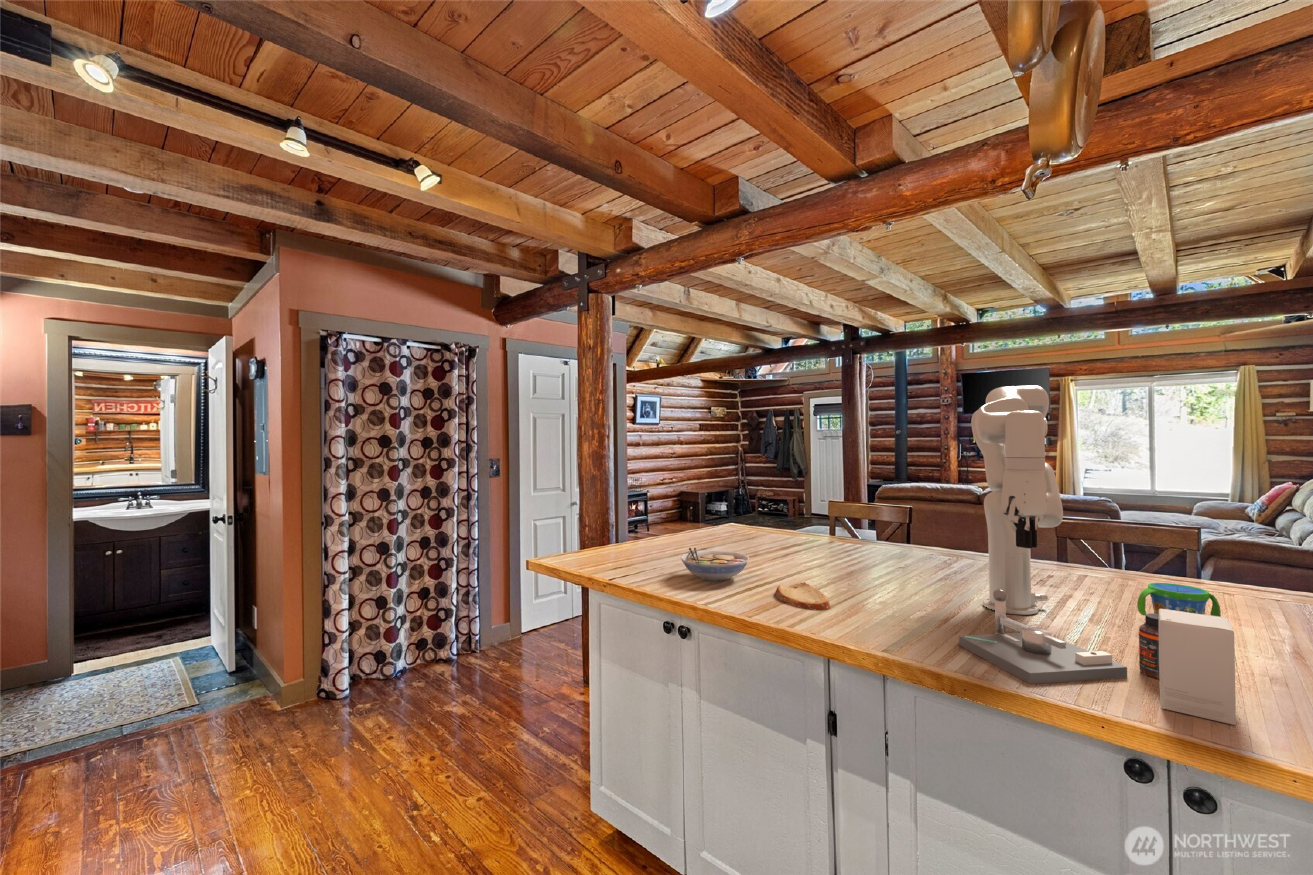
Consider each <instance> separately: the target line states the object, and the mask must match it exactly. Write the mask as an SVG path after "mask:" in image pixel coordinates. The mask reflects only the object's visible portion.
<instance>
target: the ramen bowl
mask: <svg viewBox="0 0 1313 875" xmlns="http://www.w3.org/2000/svg"><path fill="white" fill-rule="evenodd" d="M688 550H689V552H687V553H684V554H682V555H681V556H680V559H681V562H682V564H683V565H684V566H685V568H686V569H687V570H688V572H689V573H691V574H692V575H693V576H696V577H698V578H701V579H703V580H704V581H706V582H711V583H712V582H713V583H714V582H715V583H717V582H725V581H727V580H728V579H731V578H733V577H735V576H737V575H739V574H741V573H742V571H743V570H744V569H745V568H746V566H747V564H748V562H749V559H750V556H748V555H746V554H745V553H740V552H737V551H727V550H701V551H700V550H699V551H697V548H696V547H693V550H694V551H693V550H692V548H691V547H689V548H688Z"/></svg>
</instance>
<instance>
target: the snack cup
mask: <svg viewBox="0 0 1313 875" xmlns="http://www.w3.org/2000/svg"><path fill="white" fill-rule="evenodd" d="M1149 595H1150V599H1151V604H1152V609H1153V614H1159V609H1168V610H1175V611H1181V612H1188V613H1195V614H1202V615H1206V614H1205V613H1206V605H1207V602H1208V601H1209V599H1210V600H1211V604H1212V605H1211V608H1210V612H1209V614H1210V616H1218V617H1221V615H1222V613H1221V612H1222V611H1221V606H1220V603H1219V601H1218V598H1216V596H1215V595H1214V594H1212V593H1210V592H1209V591H1208V590H1207V589H1203V588H1199V587H1196V586H1191V585H1187V584H1186V585H1185V584H1180V583H1179V584H1178V583H1171V582H1170V583H1169V582H1151V583H1150V582H1149V583H1148V584H1147V588H1144V589H1143V590H1142V591H1141V592H1140V594H1139V596H1138V598H1137V603H1136V604H1137V605H1136V606H1137V611H1138V612H1139V614H1140V615H1142V616H1145V615H1146V614H1147V611H1146V604H1147V603H1146V598H1147V596H1149Z"/></svg>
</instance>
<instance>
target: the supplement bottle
mask: <svg viewBox="0 0 1313 875" xmlns="http://www.w3.org/2000/svg"><path fill="white" fill-rule="evenodd" d="M1144 621H1145V622H1144V623H1143V624H1141V625H1140V626H1139V628H1138V643H1139V644H1138V645H1139V646H1138V647H1139V648H1138V649H1139V650H1138V656H1139V657H1138V658H1139V660H1138V664H1139V670H1140V672H1141V673H1142V674H1144V675H1145V676H1147V677H1150V678H1152V679H1155V680H1159V614H1154V612H1151V613H1146V615H1145V619H1144Z"/></svg>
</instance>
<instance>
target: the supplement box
mask: <svg viewBox="0 0 1313 875" xmlns="http://www.w3.org/2000/svg"><path fill="white" fill-rule="evenodd" d="M1235 650H1236V649H1235V630H1234V629H1233V627H1232V625H1231V623H1230V620H1229V619H1228V618H1227V617H1224V616H1223V617H1221V616H1220V617H1218V616H1211V615H1208V614H1204V615H1202V614H1195V613H1188V612H1181V611H1175V610H1168V609H1159V679H1158V681H1159V698H1160V708H1161V709H1164V710H1168V711H1173V712H1176V713H1181V714H1184V715H1190V716H1194V717H1198V718H1203V719H1206V720H1211V721H1216V722H1219V723H1224V724H1228V725H1232V726H1236V725H1237V722H1236V719H1237V718H1236V716H1237V715H1236V713H1237V711H1236V710H1237V709H1236V708H1237V707H1236V705H1237V704H1236V703H1237V702H1236V661H1235V659H1236V658H1235V657H1236V655H1235V654H1236V653H1235Z"/></svg>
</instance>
